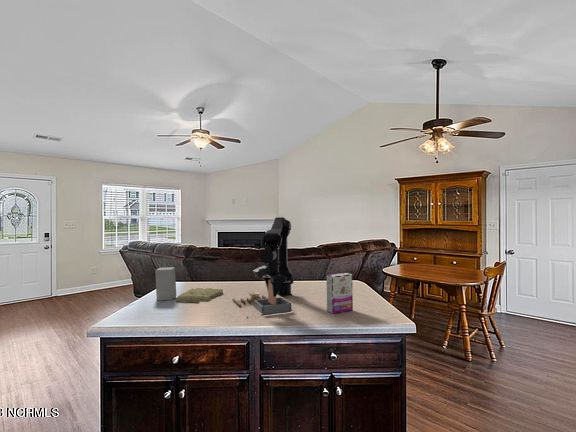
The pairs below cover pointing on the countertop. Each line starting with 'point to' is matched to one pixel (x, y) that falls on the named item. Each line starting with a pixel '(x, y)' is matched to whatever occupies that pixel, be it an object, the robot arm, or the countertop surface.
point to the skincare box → (165, 283)
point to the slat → (271, 294)
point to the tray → (272, 306)
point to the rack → (245, 302)
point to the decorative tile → (199, 295)
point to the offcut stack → (254, 296)
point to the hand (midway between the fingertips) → (272, 294)
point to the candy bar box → (339, 293)
